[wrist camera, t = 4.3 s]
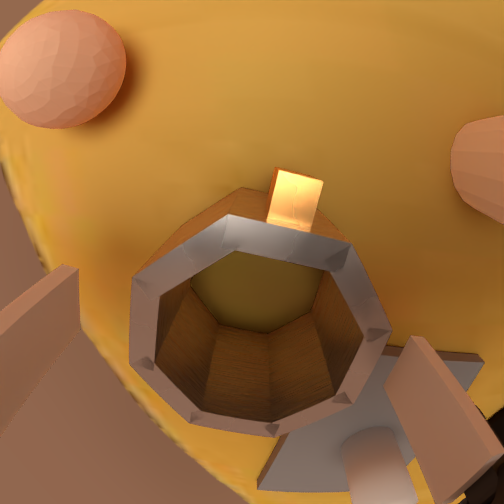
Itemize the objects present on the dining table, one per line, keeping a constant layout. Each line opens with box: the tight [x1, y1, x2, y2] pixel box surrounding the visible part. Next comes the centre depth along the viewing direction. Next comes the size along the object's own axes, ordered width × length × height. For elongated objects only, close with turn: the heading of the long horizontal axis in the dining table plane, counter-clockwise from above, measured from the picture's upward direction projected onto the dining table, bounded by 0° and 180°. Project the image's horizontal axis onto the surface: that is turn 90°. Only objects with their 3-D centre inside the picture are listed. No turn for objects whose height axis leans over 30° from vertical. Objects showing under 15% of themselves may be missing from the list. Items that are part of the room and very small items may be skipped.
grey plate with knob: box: [257, 346, 485, 504], centre depth 17 cm, size 18×14×8 cm
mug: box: [129, 167, 392, 438], centre depth 13 cm, size 10×9×7 cm
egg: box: [0, 10, 126, 129], centre depth 10 cm, size 6×6×8 cm
